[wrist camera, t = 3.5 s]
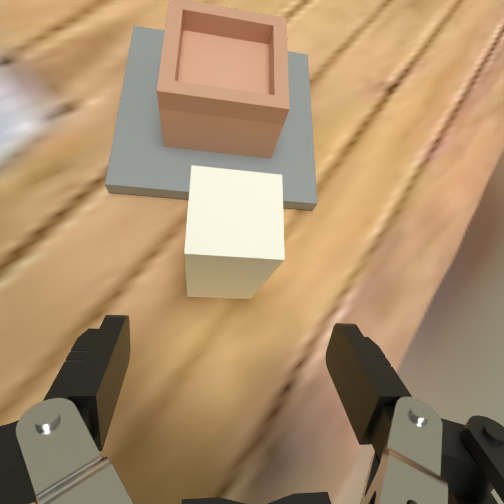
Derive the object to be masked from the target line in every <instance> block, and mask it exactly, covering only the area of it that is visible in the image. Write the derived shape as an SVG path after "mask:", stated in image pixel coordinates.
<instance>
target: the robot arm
mask: <svg viewBox="0 0 504 504" xmlns="http://www.w3.org/2000/svg"><path fill="white" fill-rule="evenodd" d="M129 358H130V327H129V316H126V315H106V316H105V318H104V320H103V322H102V324H101V327H100V329H88V330H87V331H86V332H84V333H83V334H82V335H81V336H80V337H78V338H77V340H76V342H75V344H74V345H73V347H72V349H71V352H70V353H69V355H68V356H67V358H66V362H64V364H63V366H62V368H61V369H60V371H59V373H58V375H57V377H56V379H55V380H54V382H53V384H52V386H51V388H50V390H49V391H48V393H47V395H46V397H45V399H44V400H43V401H42V402H40V403H38V404H36V405H34V406H33V407H31V408H30V409H29V410H27V411H26V412H25V413H24V414H23V415H22V417H21V418H20V419H19V420H18V421H16V422H13V423H10V424H7V425H3V426H0V504H30V503H33V502H35V504H133V502H132V500H131V499H130V497H129V495H128V493H127V491H126V489H125V487H124V485H123V484H122V482H121V480H120V478H119V476H118V474H117V472H116V470H115V469H114V467H113V465H112V463H111V462H110V460H109V459H108V458H107V457H105V458H103V457H102V456H101V454H100V452H99V451H102V449H103V446H104V442H105V439H106V436H107V433H108V429H109V426H110V423H111V419H112V416H113V413H114V410H115V406H116V403H117V400H118V396H119V393H120V390H121V387H122V383H123V380H124V377H125V374H126V370H127V367H128V363H129ZM326 365H327V368H328V371H329V373H330V376H331V378H332V380H333V383H334V385H335V388H336V390H337V392H338V395H339V397H340V399H341V402H342V404H343V406H344V409H345V411H346V414H347V416H348V418H349V421H350V423H351V425H352V428H353V430H354V432H355V435H356V437H357V440H358V442H359V444H360V445H366V444H372V445H373V448H374V450H375V451H374V454H373V456H372V459H371V463H370V467H369V471H368V475H367V479H366V483H365V487H364V491H363V494H362V498H361V503H360V504H498V503H497V501H496V500H495V498H494V497H493V495H492V494H491V491H492V490H493V489H495V490H496V492H497V493H498V495H499V497H500V498H501V500H502V501H503V503H504V427H503V426H502V425H500V424H499V423H497V422H496V421H494V420H492V419H489V418H487V417H483V416H473V417H471V418H470V419H469V420H468V422H467V423H466V425H462V424H459V423H455V422H452V421H448V420H444V419H441V418H440V417H439V415H438V414H437V413H436V411H435V410H434V409H433V408H432V407H431V406H429V405H428V404H427V403H425V402H423V401H421V400H419V399H417V398H413V397H412V396H411V394H410V393H409V391H408V390H407V388H406V387H405V385H404V384H403V382H402V381H401V379H400V378H399V376H398V375H397V373H396V372H395V370H394V369H393V367H391V364H390V363H389V361H388V360H387V358H385V355H384V354H383V352H382V351H381V349H380V348H379V346H378V345H377V344H375V343H374V342H373V341H372V340H371V339H370V338H368V337H364V336H363V335H362V333H361V331H360V330H359V328H358V327H357V325H355V324H343V323H337V324H335V325H334V328H333V331H332V334H331V338H330V341H329V345H328V348H327V351H326ZM182 504H244V503H240V502H236V501H232V500H227V499H223V498H203V499H184V500H182ZM268 504H331V502H330V498H329V495H328V492H317V493H298V494H292V495H289V496H286V497H284V498H281V499H279V500H276V501H273V502H271V503H268Z"/></svg>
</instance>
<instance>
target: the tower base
mask: <svg viewBox="0 0 504 504" xmlns="http://www.w3.org/2000/svg"><path fill="white" fill-rule="evenodd" d="M191 165H194V166H204V167H213V168H223V169H232V170H242V171H251V172H261V173H270V174H280V175H282V183H283V208H290V209H302V210H313V209H314V207H315V206H316V205H317V191H316V176H315V160H314V145H313V130H312V114H311V99H310V84H309V68H308V55H306V54H300V53H294V52H288V51H287V25H286V18H282V17H276V16H271V15H266V14H260V13H255V12H249V11H244V10H239V9H233V8H228V7H222V6H217V5H211V4H206V3H201V2H195V1H190V0H169V3H168V11H167V18H166V25H165V31H163V30H157V29H151V28H145V27H139V26H134V27H133V33H132V39H131V44H130V50H129V55H128V61H127V66H126V72H125V77H124V83H123V88H122V94H121V99H120V105H119V110H118V116H117V121H116V127H115V133H114V138H113V144H112V149H111V155H110V160H109V166H108V171H107V177H106V182H105V185H106V187H107V189H108V191H109V192H110V193H121V194H132V195H144V196H155V197H166V198H177V199H189V189H190V177H191Z"/></svg>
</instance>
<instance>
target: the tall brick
mask: <svg viewBox="0 0 504 504" xmlns="http://www.w3.org/2000/svg"><path fill="white" fill-rule="evenodd" d="M184 257H185V271H186V285H187V297H208V298H232V299H251V298H252V296H253V295H254V294H255V293H256V292H257V291H258V290H259V288H260V287H261V286H262V285H263V284H264V283H265V282H266V280H267V279H268V278H269V277H270V276H271V275H272V274H273V273H274V271H275V270H276V269H277V268H278V267H279V266H280V265H281V263H282V262H283V261H284V260H285V259H284V221H283V183H282V175H280V174H270V173H261V172H251V171H242V170H232V169H223V168H213V167H204V166H194V165H191V177H190V189H189V202H188V214H187V226H186V238H185V251H184Z"/></svg>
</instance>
